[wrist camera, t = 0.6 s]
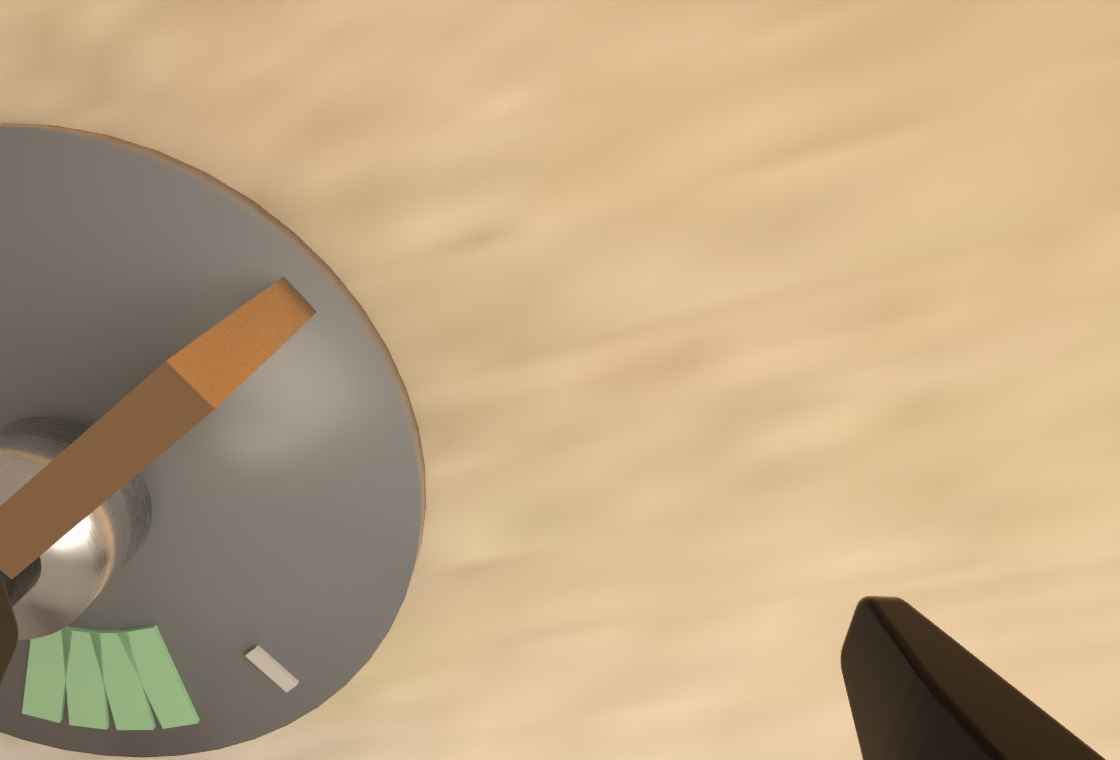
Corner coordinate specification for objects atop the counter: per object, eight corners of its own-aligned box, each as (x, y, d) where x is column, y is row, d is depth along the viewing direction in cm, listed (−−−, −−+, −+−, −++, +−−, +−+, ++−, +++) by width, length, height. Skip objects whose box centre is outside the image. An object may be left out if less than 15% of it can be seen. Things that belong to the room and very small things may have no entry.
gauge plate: (325, 801, 29) (315, 830, 28) (-266, 625, 27) (-303, 650, 26) (521, 289, 22) (518, 301, 21) (-247, -4, 20) (-296, -8, 19)
